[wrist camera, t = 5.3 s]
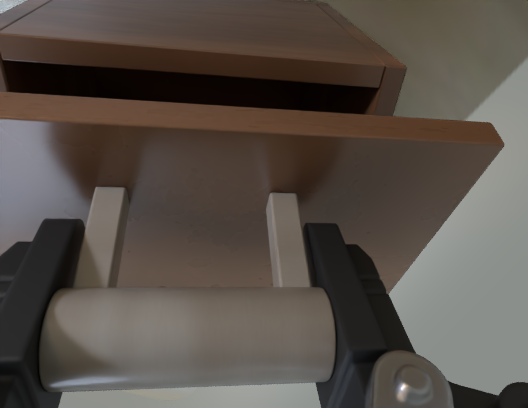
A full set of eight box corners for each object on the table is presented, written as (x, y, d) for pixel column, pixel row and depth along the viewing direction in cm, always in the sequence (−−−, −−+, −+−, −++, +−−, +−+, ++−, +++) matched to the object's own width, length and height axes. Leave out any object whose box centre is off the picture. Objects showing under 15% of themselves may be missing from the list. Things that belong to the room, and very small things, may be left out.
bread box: (72, -24, 22) (-36, 30, 12) (327, 3, 24) (408, 67, 14) (105, 229, 31) (59, 373, 21) (286, 232, 33) (318, 365, 23)
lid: (-163, 80, 8) (-419, 349, 5) (491, 121, 10) (622, 329, 7) (59, 373, 21) (31, 495, 18) (319, 365, 23) (335, 473, 20)
